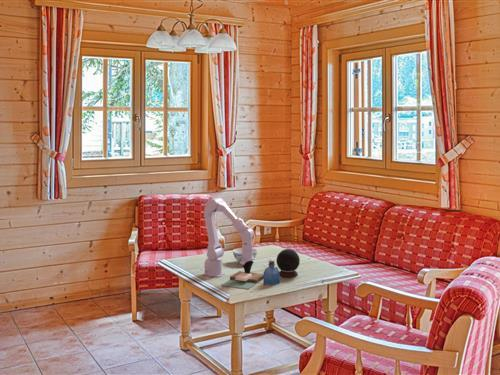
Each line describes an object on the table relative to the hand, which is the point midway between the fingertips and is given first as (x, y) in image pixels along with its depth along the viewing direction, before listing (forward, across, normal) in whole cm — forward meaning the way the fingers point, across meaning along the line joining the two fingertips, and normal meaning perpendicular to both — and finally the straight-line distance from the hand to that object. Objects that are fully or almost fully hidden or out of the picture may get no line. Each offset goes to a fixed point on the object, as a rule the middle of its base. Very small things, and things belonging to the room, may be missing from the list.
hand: (247, 274), depth 308 cm
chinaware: (+3, +30, +15) cm, 34 cm away
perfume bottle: (+3, -2, -15) cm, 15 cm away
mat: (+3, -11, 0) cm, 12 cm away
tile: (+1, -5, 0) cm, 5 cm away
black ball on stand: (+3, +16, -18) cm, 24 cm away
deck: (+3, 0, 0) cm, 3 cm away
